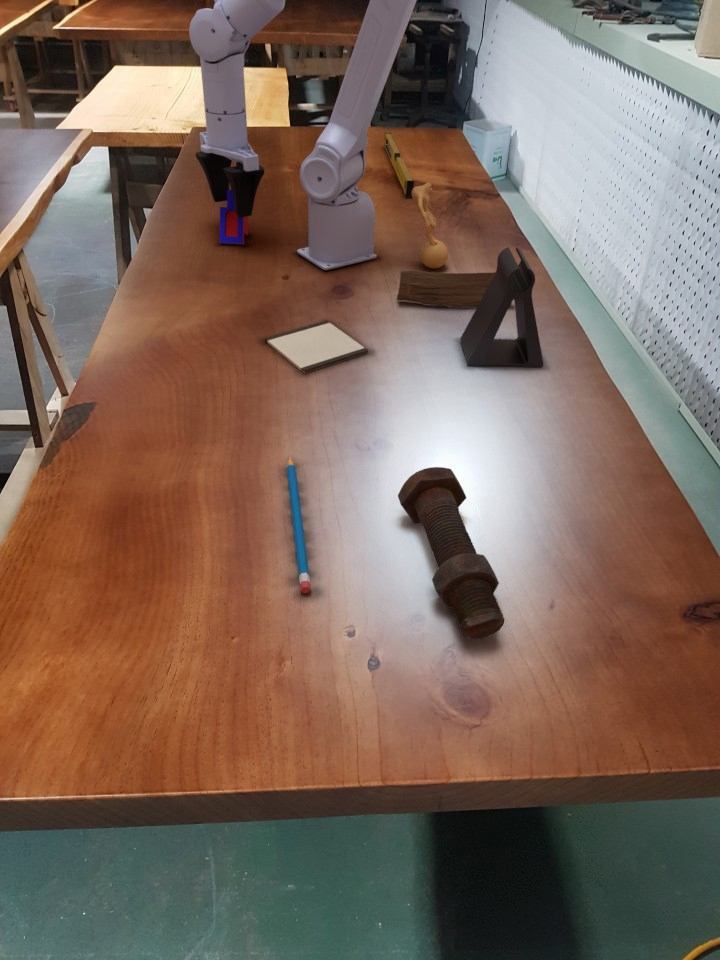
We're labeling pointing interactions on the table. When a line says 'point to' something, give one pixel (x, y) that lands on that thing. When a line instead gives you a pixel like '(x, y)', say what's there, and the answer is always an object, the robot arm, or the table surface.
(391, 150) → the spirit level
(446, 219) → the table surface
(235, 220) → the toy building block
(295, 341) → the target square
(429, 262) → the figurine
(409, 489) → the bolt
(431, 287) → the wood plank
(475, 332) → the phone stand
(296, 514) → the pencil
